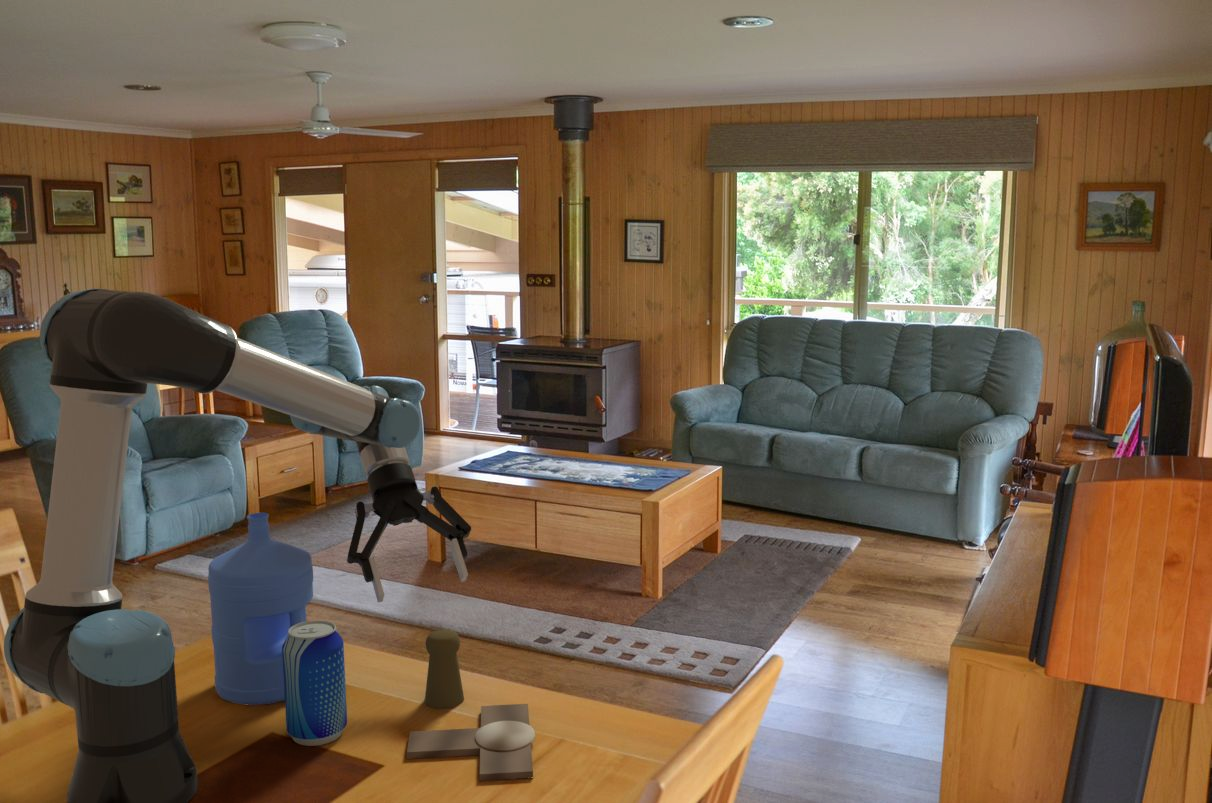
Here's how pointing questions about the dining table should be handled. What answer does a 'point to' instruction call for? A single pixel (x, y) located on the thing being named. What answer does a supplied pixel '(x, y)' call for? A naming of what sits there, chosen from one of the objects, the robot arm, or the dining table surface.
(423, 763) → the dining table surface
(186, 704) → the dining table surface
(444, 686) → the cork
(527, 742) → the walnut T board
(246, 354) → the robot arm
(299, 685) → the beer can
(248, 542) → the water jug
